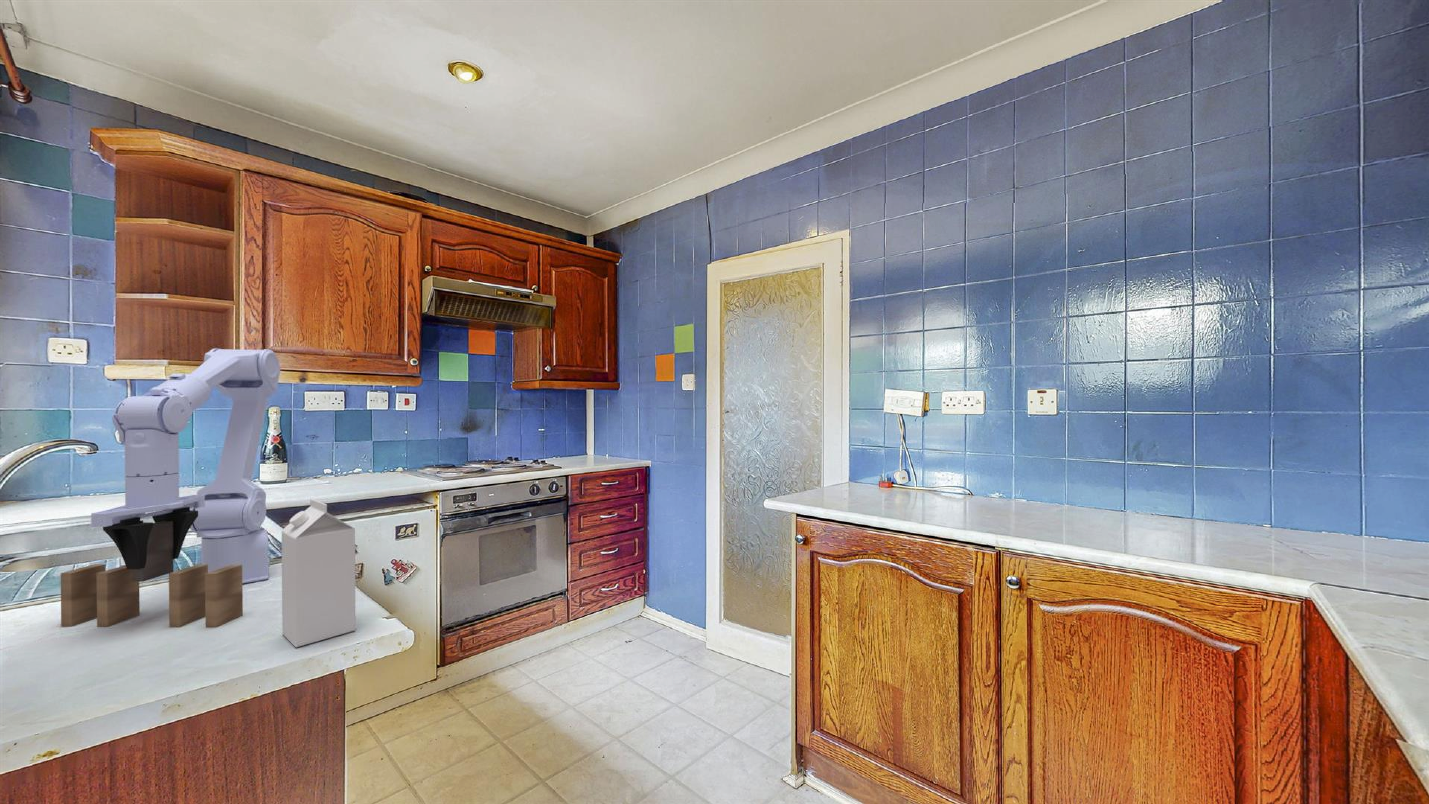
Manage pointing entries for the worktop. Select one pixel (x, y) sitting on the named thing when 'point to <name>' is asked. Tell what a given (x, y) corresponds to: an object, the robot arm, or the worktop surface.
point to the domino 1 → (79, 595)
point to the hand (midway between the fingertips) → (153, 563)
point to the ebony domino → (157, 553)
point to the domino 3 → (187, 595)
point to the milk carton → (317, 576)
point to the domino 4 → (223, 595)
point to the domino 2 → (116, 596)
